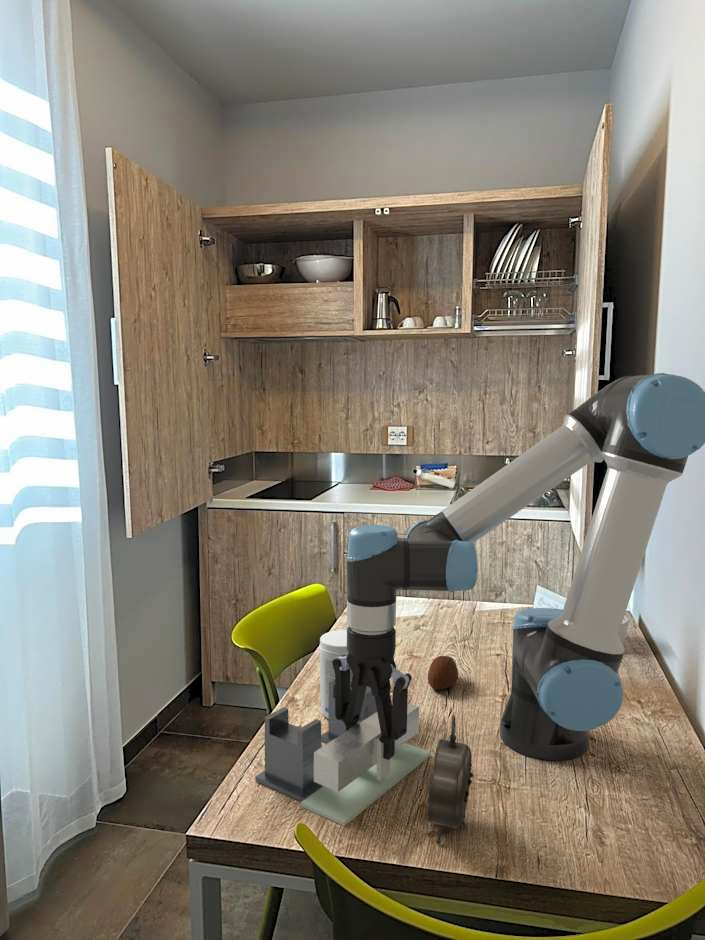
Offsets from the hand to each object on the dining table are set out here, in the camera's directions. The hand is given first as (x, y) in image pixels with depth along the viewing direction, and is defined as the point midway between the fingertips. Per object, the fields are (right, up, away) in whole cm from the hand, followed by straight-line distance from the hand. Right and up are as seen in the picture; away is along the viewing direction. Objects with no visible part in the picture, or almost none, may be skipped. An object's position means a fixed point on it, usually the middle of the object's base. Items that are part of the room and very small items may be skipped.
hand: (369, 770), depth 111 cm
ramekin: (+57, +5, +60) cm, 83 cm away
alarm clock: (+11, -3, -12) cm, 16 cm away
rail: (0, +2, 0) cm, 3 cm away
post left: (-12, -2, -1) cm, 12 cm away
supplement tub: (-4, +1, +23) cm, 23 cm away
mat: (0, -2, 0) cm, 1 cm away
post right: (-2, 0, +12) cm, 12 cm away
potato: (+16, +2, +35) cm, 39 cm away
